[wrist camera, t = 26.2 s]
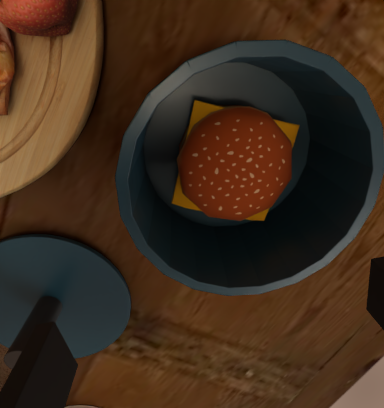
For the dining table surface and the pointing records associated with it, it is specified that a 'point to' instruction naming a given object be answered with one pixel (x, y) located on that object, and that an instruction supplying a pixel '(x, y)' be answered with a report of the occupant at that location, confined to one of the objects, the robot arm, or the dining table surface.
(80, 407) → the honey pot
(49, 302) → the lid
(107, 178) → the dining table surface
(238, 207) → the hamburger
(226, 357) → the dining table surface
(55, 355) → the robot arm
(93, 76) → the wooden plate
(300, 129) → the blue pot
